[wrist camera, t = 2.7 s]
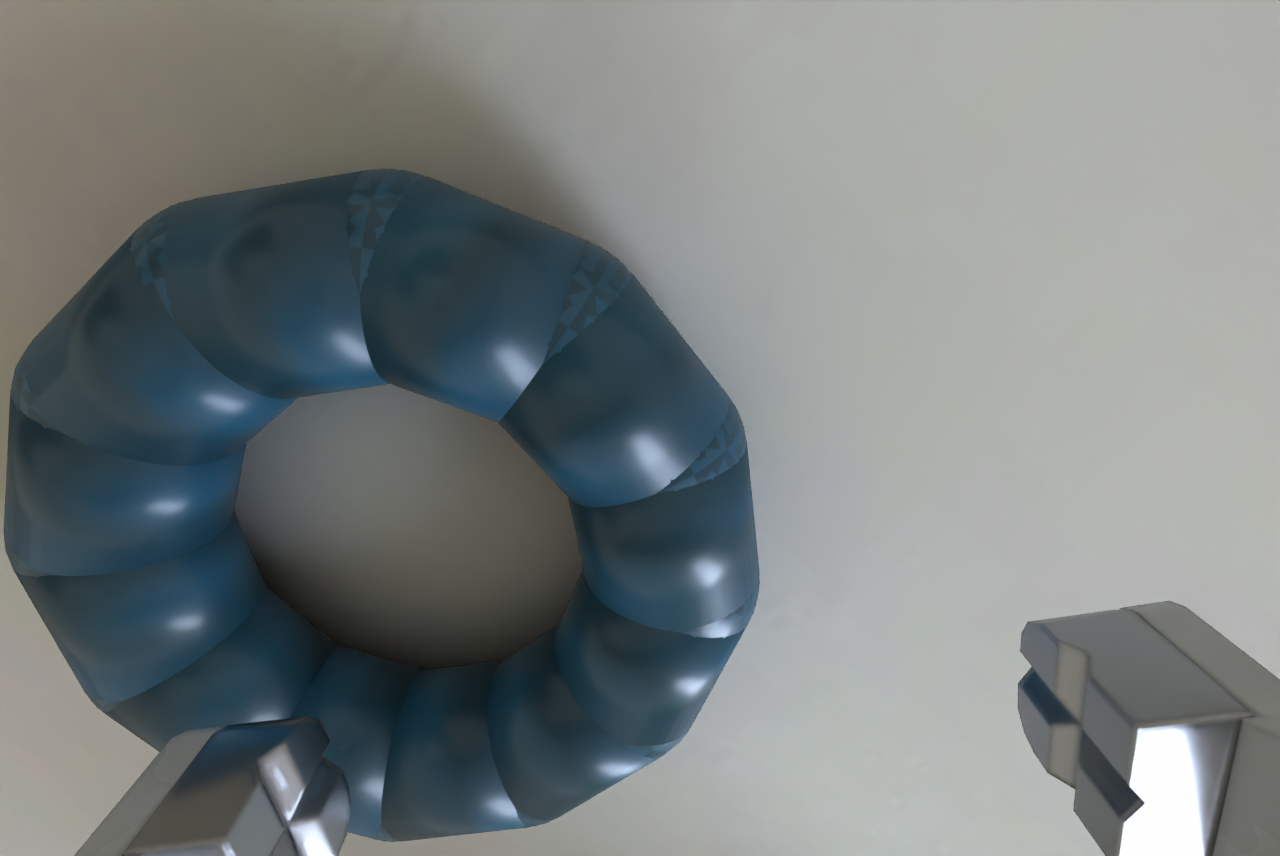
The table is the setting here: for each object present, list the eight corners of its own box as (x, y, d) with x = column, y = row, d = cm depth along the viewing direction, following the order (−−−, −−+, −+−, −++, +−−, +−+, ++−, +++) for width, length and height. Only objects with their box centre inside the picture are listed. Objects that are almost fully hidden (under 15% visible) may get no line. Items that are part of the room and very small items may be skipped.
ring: (-19, 239, 11) (-245, 263, 8) (703, 120, 10) (727, 103, 8) (245, 771, 15) (157, 906, 12) (764, 710, 15) (794, 837, 12)
